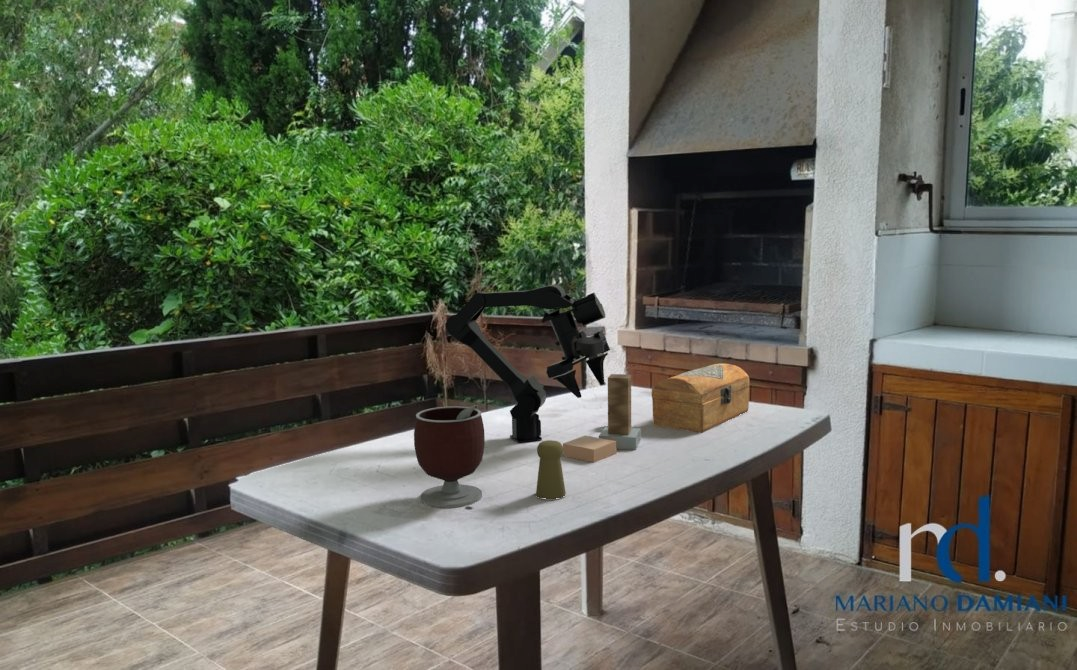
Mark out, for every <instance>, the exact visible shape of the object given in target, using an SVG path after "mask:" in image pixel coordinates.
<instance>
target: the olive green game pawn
mask: <svg viewBox="0 0 1077 670" xmlns="http://www.w3.org/2000/svg"><path fill="white" fill-rule="evenodd" d="M536 454H537V456H538V458H539V464H538V473H537V481H536V490H535V497H536V496H537V497H539V498H546V499H556V498H561V497H563V496H565V494H566V495H567V492H566V488H565V487H566V486H565V480H564V474H563V467H562V460H561V458H562V456H563V443H561V442H559V441H558V440H552V439H551V440H550V439H549V440H548V439H547V440H541V442H539V443H538V444H537V448H536ZM537 497H536V498H537ZM565 497H566V496H565ZM539 498H538V499H539ZM561 499H562V498H561Z"/></svg>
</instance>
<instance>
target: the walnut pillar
mask: <svg viewBox="0 0 1077 670" xmlns="http://www.w3.org/2000/svg"><path fill="white" fill-rule="evenodd" d="M607 427H608V434H616V435H629V433H630V432H631V428H632V374H624V373H623V374H619V373H617V374H616V373H611V374H610V375H609V376H608V377H607Z"/></svg>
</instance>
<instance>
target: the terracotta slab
mask: <svg viewBox="0 0 1077 670" xmlns="http://www.w3.org/2000/svg"><path fill="white" fill-rule="evenodd" d="M562 446H563V454H562V456H563V457H566V458H572V459H575V458H576V459H577V460H579V461H580V460H581V461H586V462H589V463H590V462H591V463H596V462H599V461H601V460H603V459H607V458H608V457H612V456H614V455H615V454H617V449H616V441H613V440H607V439H602V438H599V437H595V436H591V435H590V436H589V435H583V436H579V437H577V438H574V439H571V440H568V441H566V442H563V443H562ZM576 459H575V460H576Z"/></svg>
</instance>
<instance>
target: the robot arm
mask: <svg viewBox="0 0 1077 670" xmlns="http://www.w3.org/2000/svg"><path fill="white" fill-rule="evenodd" d="M521 306H523V307H525V306H527V307H532V308H538V309H542V310H543V309H545V310H547V311H544V313H543V317H542V318H541V321H540V322H541V323H542V324H544V323H546V322H548V321H550V324H551V327H552V329H553V332H554V334H555V336H556V339H557V341H554V342H555V345H556V346H560V348H561V351H562V353H563V356H562V357H561V359H562V360H560V361H556V362H554V363H552V364H550V365H548V366H547V367H546V370H545V372H546V375H547V377H548V379H552V380H556V381H557V382H559V383H560V384H561V385H563V386H564V387H565V388H566V389H568V391H569V392H571V393H572V394H573V395H574V396H575V397H576V398H577V399H580V398H582V394H581V390H580V387H579V384H578V381H577V378H576V372H577V369H574V366H575V365H576V364H579V363H581V362H583V361H585V363H586V365H587V366H588V367H589V369H590V372H591V373H592V374H593V376H594V377H595V379H596V381H597V382H598V384H599V385H600V386H603V385H605V372H604V361H605V359H606V357H607V356H608V355H609V353H608V352H610V350H611V348H610V346H609V344H608V343H609V342H608V341H607V337H606V335H605V333H604V332H603V331H596V332H594V333H593V335H591V336H587V335H586V333H585V332H584V330H582V331H580V329H579V327H578V325H580V324H582V326H584V327H586V326H588V325H590V324H593V323H596V322H599V321H600V320H603V319H606V312H605V308H604V307H603V304H602V303H601V301H600V300H599V297H597V295H596V293H595V292H592V293H589V294H587V295H586V296H584V297H582V298H579V299H577V298H574V297H573V296H570V295H569V294H567V293H566V291H565V288H563V286H561V285H560V284H549V285H545V286H541V287H537V288H533V289H529V290H528V289H527V290H511V291H510V290H509V291H505V290H504V291H490V292H486V291H479V292H477V293H476V292H475V293H474V294H473V295H472V296H471V298H470V299H469V301H468V302H466V303H465V305H463V306H462V307H461V309H459V310H458V311H457V313H456V314H453V315H450V316H449V317H448V318H447V320H446V322H445V329H446V332H447V333H448V335H450V336H451V337H452V338H453V339H455V340H456V341H457V342H459V343H461V344H463V345H465V346H467V347H469V348H470V349H471V350H472V351H473V352H474V353H475V354H476V355H478V357H479V358H480V359H481V360H482V361H483V362H484V363H485V364H486V365H487V366H488V367H489V368H490V369H491V370H492V371H493V372H494V373H495V374H496V376H498V378H500V380H502V381H503V382H504V384H505V385H507V387H508V388H509V390H510V392H511V393H512V396H513V398H514V400H515V402H516V404H515V405H514V406H513V407H511V409H510V410H509V412H510V415H511V433H512V434H510V435H509V438H510V439H512V440H513V441H515V442H516V443H525V442H526V443H527V442H528V443H529V442H536V441H543V437H541V436H542V422H541V420H540V415H539V414H538V412H539V410H540V408H541V407H542V406H543V405H544V404H545V403H546V399H547V393H546V391H545V389H544V387H545V385H543V384H541V383H540V382H539V381H538V380H537V378H536V376H534V375H531V376H530V377H527V376H524V375H523V374H521V373H520V372H519V371H518V369H517V368H516V367H514V366H513V365H512V363H511V362H510V361H508V359H506V357H505V356H504V355H503V354H501V352H500V351H499V350H498V349H497V348H496V347H495V346H494V344H492V343H491V342H490V341H489V340H488V339H487V338H486V337H485V335H484V334H483V332H482V330H481V327H480V325H479V324H478V322H477V320H478V319H479V317H480V316H481V315H482V313H483V312H484V310H485V309H486V308H503V307H505V308H506V307H521ZM570 307H572V308H571V309H568V308H570ZM556 308H559V309H556ZM554 309H556V310H554ZM563 309H568V310H565V311H563ZM549 310H554V311H551V312H550V311H549ZM577 324H578V325H577ZM586 359H587V360H586Z"/></svg>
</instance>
